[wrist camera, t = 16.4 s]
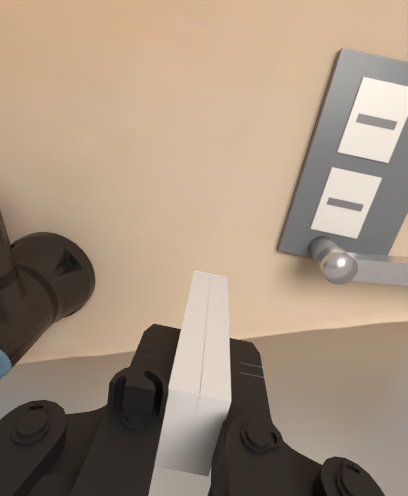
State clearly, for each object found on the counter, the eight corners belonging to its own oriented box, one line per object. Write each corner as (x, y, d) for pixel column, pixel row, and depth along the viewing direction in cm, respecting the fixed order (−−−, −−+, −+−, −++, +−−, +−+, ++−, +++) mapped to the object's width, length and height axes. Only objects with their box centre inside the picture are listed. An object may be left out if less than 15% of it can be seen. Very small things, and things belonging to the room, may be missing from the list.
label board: (277, 248, 46) (284, 263, 40) (338, 51, 36) (360, 33, 30) (375, 269, 46) (397, 287, 40) (463, 78, 36) (508, 66, 31)
